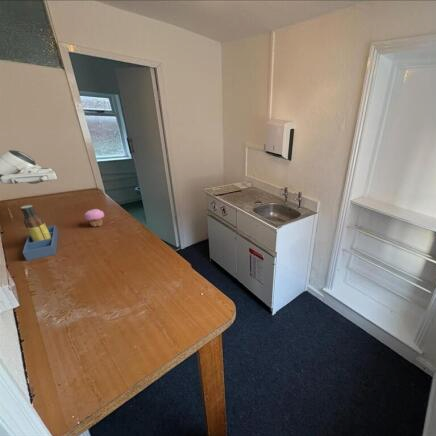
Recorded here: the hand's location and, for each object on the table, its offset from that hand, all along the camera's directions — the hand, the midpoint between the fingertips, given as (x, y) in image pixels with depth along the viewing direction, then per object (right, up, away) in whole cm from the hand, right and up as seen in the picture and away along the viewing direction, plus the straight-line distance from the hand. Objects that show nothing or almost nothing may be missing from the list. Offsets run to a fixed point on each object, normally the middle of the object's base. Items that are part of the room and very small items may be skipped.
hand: (28, 180), depth 118 cm
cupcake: (+20, -24, +18) cm, 36 cm away
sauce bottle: (+12, -32, -4) cm, 34 cm away
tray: (+12, -33, -4) cm, 35 cm away
